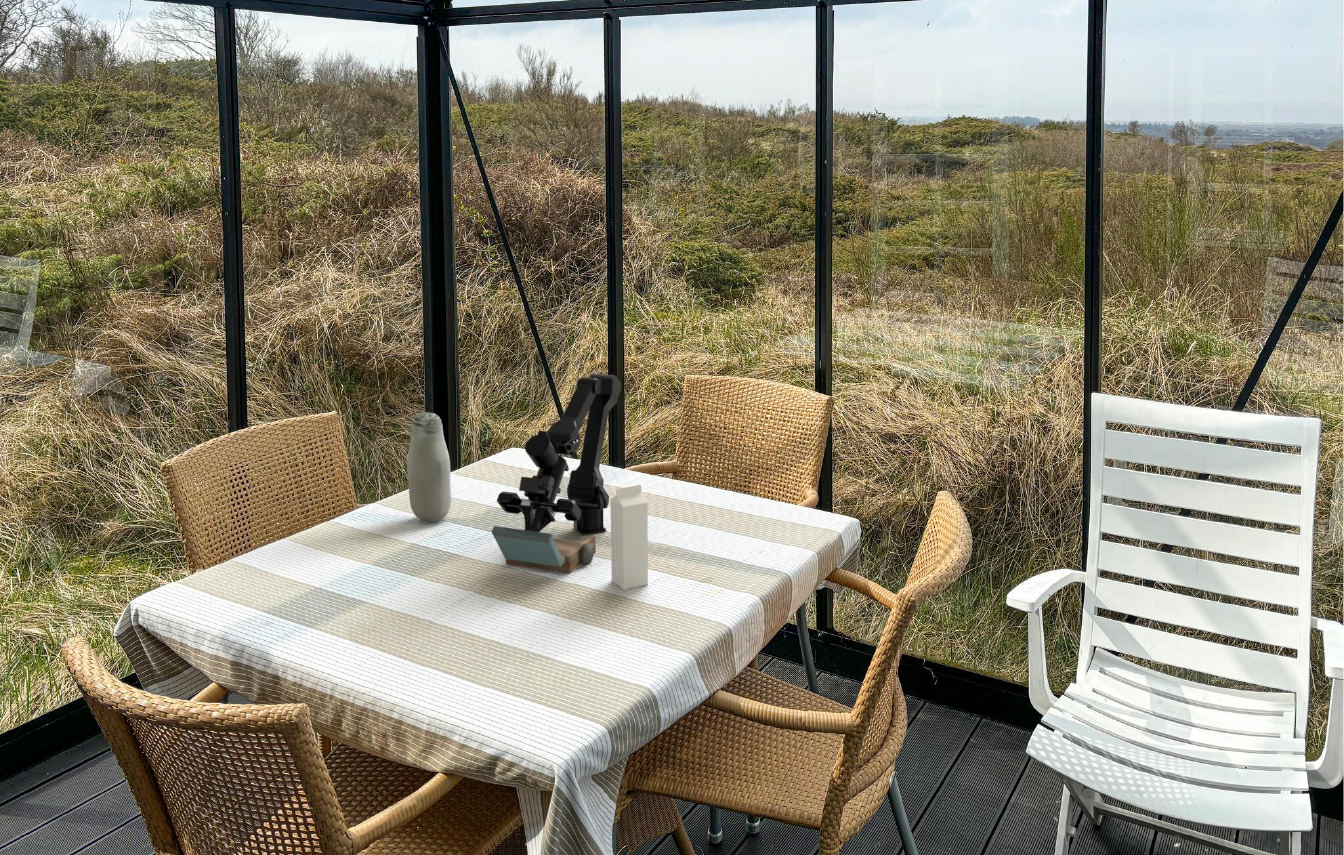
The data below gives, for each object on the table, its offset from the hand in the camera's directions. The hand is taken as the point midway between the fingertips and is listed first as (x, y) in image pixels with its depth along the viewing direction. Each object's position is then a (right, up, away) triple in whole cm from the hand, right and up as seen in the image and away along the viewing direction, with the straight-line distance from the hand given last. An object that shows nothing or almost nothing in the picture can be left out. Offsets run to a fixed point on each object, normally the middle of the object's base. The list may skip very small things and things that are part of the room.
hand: (527, 540), depth 253 cm
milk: (+23, -9, -2) cm, 24 cm away
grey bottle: (-29, +1, +38) cm, 48 cm away
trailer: (+4, -5, +12) cm, 14 cm away
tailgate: (+1, -6, +4) cm, 7 cm away
